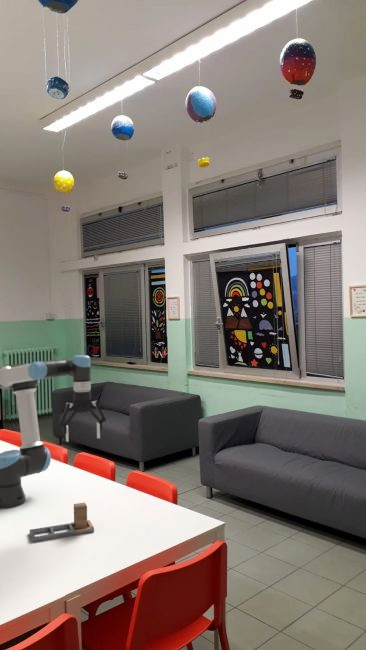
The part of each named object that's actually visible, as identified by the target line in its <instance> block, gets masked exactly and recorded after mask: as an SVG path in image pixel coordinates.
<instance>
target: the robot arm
mask: <svg viewBox="0 0 366 650" xmlns="http://www.w3.org/2000/svg"><path fill="white" fill-rule="evenodd" d="M91 365H92V364H91V356H89V355H87V354H86V355H73V357H72V359H68V358H62V359H56V360H55V359H54V360H45V361H44V360H42V361H41V360H40V361H34V362H31V363H19V364H17V363H16V364H9V365H7V364H6V365H1V366H0V389H1V390H12V394H14V395H15V396H16V403H17V412H18V420H19V429H20V435H21V437H20V438H21V446H20V447H19V450H18V449H12V450H5V451H3V452H0V509H9V508H14V507H18V506H20V505H23V504H24V503H26V494H25V491H24V489H23V486H22V478H23V477H28V476H30V475H34V474H39V473H42V472H45V471H46V470H47V469H48V468H49V466H50V464H51V461H52V460H51V459H52V456H51V452H50V450H49V448H48V447H47V446H45V444H44V442H43V441H41V437H40V428H39V421H38V413H37V405H36V397H35V392H36V390H37V389H38V387H37V386H38V385H40V383H41V382H40V381H41V380H44V379H45V380H46V379H54V378H62V377H63V378H64V377H72V379H73V380H72V381H73V382H72V383H73V384H72V387H73V389H72V390H73V402H71V403H69V402H66V403H65V408H64V411H63V413H62V415H61V417H60V419H59V421H58V424H59V426H62V427H63V428H62V429H63V430H62V432H63V435H65V442H67V443H68V442H69V441H70V440H69V435H70V434H69V425H68V424H69V423H70V422H71V420H72V419H73V418H74V416H75V415H76V414H77V413H79V414H80V413H81V414H82V413H88V412H89V414H91V415H92V416H93V418H94V419H95V420H96V421H97V422H96V438H97V439H101V431H102V430H103V423H104V422H107V418H106V417H105V415H104V413H103V411H102V410H101V407H100V403H99V401H98V400H94V401H92V392H91V390H92V389H91V386H92V384H91V382H92V381H91V372H92V371H91V367H92V366H91ZM92 405H93V406H94V407H95V409H96V411H97V412H98V414H99V415H97V414H96V413H95V412H94V411H93V410H92V409H91V407H92ZM72 407H73V410H71V411H72V412H71V413H70V414H69V415H68V413H69V410H70V409H71V408H72ZM67 415H68V417H67ZM99 416H100V417H99ZM66 417H67V418H66Z"/></svg>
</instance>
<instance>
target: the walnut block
mask: <svg viewBox="0 0 366 650" xmlns="http://www.w3.org/2000/svg"><path fill="white" fill-rule="evenodd" d="M87 520H88V505H87V504H86V502H79V503H73V522H74V528H73V529H74V530H75V529H81V528H87V527H88V526H87Z"/></svg>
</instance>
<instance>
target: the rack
mask: <svg viewBox="0 0 366 650" xmlns="http://www.w3.org/2000/svg"><path fill="white" fill-rule="evenodd" d="M94 527H95V526H94V525H93V524H92V522H91V521H90V519H89V520H88V519H87V528H81V529H74V521H73V522H70V523H64V524H58V525H57V524H56V525H52V526H51V525H50V526H45V527H39V528H31V529H29V537H30V540H31V543H37V542H43V541H48V540H53V539H54V540H55V539H61V538H67V537H72V536H77V535H84V534H88V533H94V532H95V528H94ZM66 529H69V530H67V531H63V530H66ZM61 530H62V531H61ZM55 531H59V532H55ZM60 531H61V532H60ZM49 532H50V533H49ZM42 533H43V535H38V536H35V535H37V534H42ZM44 533H49V534H44Z"/></svg>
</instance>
